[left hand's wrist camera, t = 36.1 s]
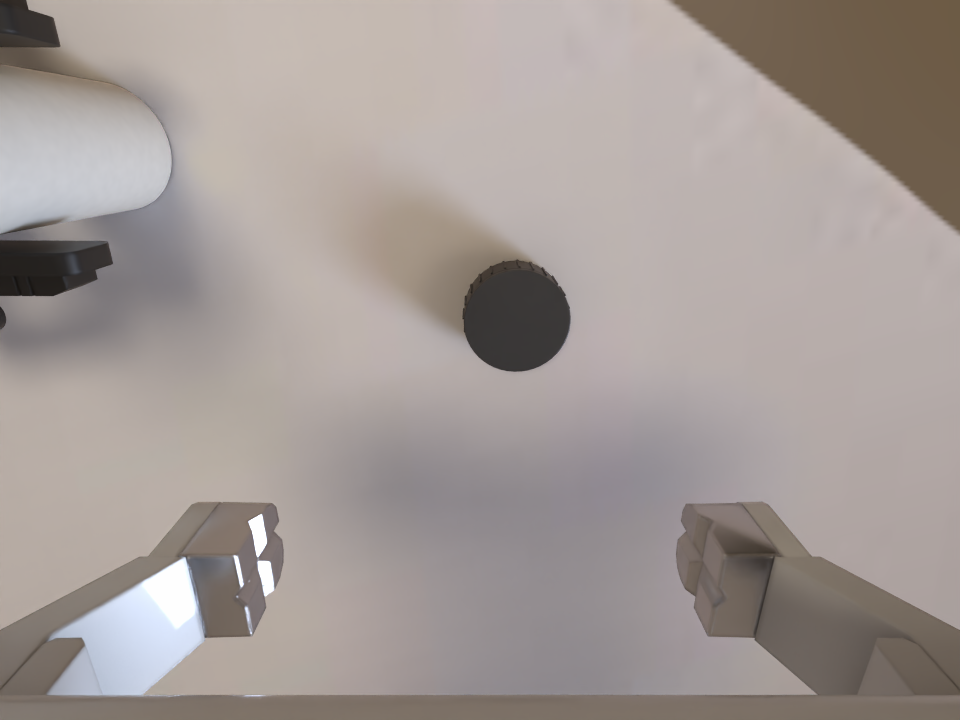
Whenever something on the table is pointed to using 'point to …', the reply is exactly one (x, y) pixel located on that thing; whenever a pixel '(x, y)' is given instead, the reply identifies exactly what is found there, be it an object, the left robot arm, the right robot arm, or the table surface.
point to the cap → (516, 316)
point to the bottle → (74, 149)
